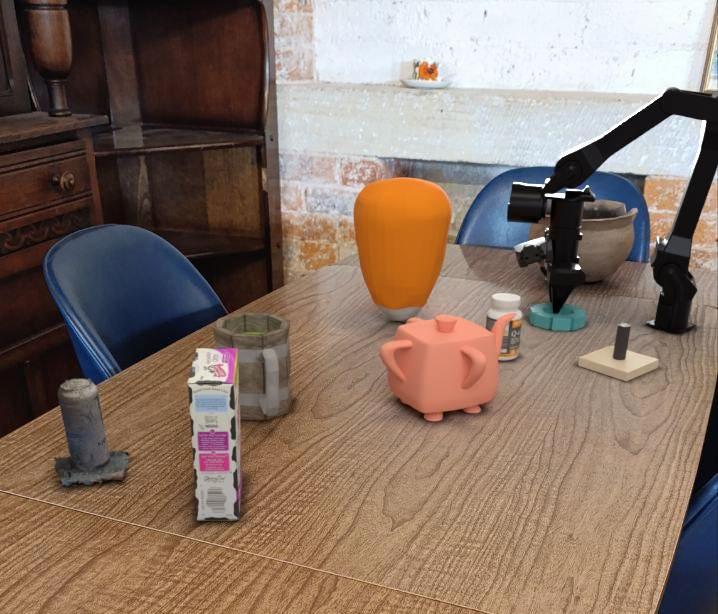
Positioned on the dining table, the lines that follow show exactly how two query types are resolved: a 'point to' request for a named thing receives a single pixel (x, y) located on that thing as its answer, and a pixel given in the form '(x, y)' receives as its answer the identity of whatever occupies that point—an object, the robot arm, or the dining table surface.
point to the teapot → (444, 364)
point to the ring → (557, 317)
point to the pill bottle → (512, 333)
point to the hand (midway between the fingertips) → (554, 310)
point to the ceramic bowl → (598, 237)
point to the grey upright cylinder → (86, 437)
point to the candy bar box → (216, 433)
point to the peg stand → (619, 358)
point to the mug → (259, 361)
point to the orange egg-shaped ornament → (401, 242)
